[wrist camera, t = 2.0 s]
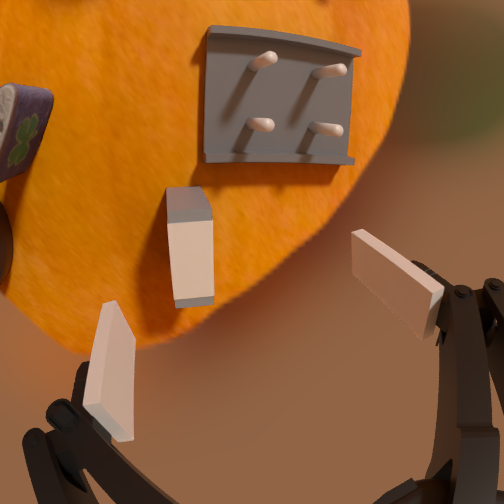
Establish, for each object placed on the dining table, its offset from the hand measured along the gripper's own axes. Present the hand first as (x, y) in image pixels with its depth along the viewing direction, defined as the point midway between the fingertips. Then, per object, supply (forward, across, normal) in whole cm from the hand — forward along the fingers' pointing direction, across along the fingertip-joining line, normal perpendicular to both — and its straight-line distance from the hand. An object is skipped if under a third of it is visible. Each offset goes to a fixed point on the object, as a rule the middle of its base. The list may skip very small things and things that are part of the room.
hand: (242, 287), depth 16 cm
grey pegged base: (+18, +10, +9) cm, 22 cm away
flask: (+17, -16, +13) cm, 27 cm away
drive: (+18, -3, -2) cm, 18 cm away
